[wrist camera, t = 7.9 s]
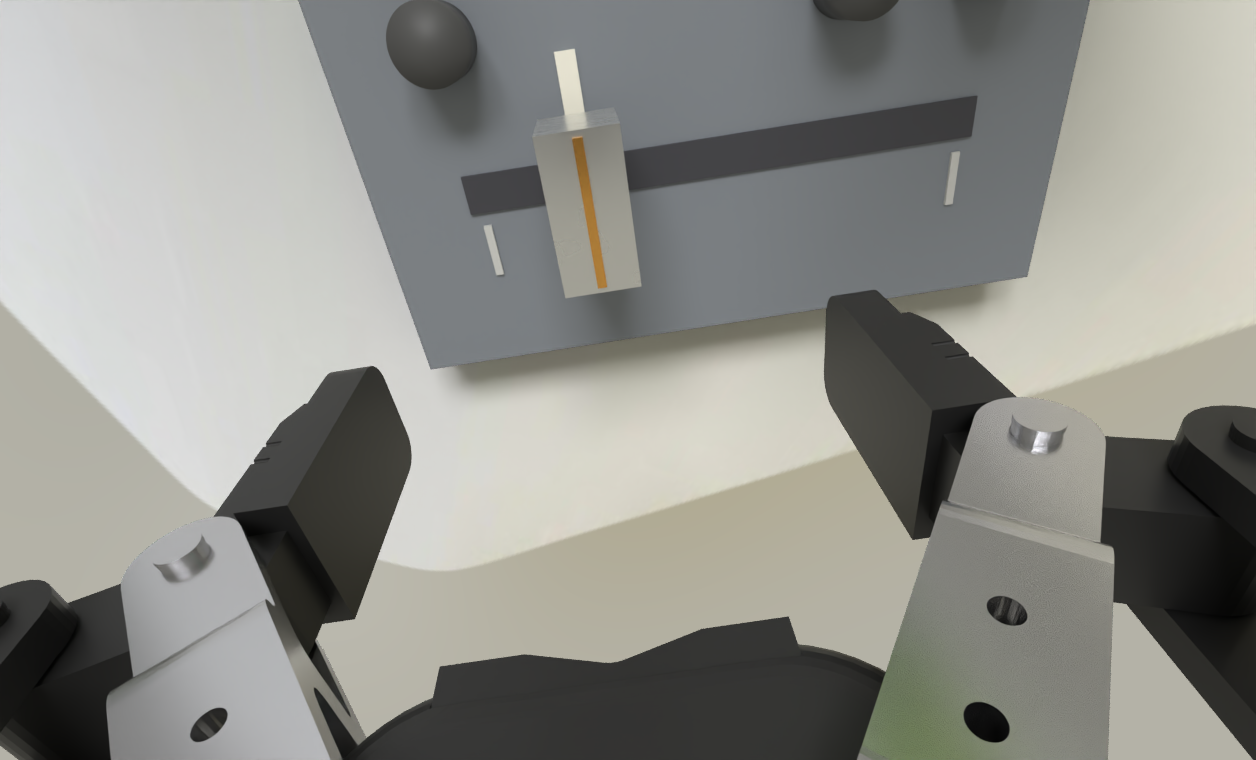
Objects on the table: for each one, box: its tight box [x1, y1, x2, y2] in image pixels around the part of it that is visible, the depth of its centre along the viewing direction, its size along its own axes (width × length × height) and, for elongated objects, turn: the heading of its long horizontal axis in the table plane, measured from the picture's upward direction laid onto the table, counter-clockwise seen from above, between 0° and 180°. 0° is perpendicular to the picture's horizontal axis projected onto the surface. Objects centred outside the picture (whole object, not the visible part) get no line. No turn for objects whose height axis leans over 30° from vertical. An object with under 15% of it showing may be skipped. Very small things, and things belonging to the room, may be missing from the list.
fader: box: [532, 107, 641, 298], centre depth 20 cm, size 2×5×5 cm, turn 8°
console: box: [298, 0, 1090, 369], centre depth 23 cm, size 26×14×4 cm, turn 98°
